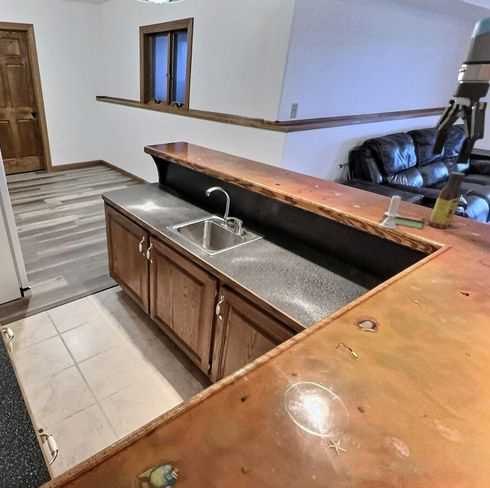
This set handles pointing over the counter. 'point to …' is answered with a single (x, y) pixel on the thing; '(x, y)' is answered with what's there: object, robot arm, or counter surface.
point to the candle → (392, 213)
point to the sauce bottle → (447, 202)
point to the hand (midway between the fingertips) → (447, 158)
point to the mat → (407, 222)
